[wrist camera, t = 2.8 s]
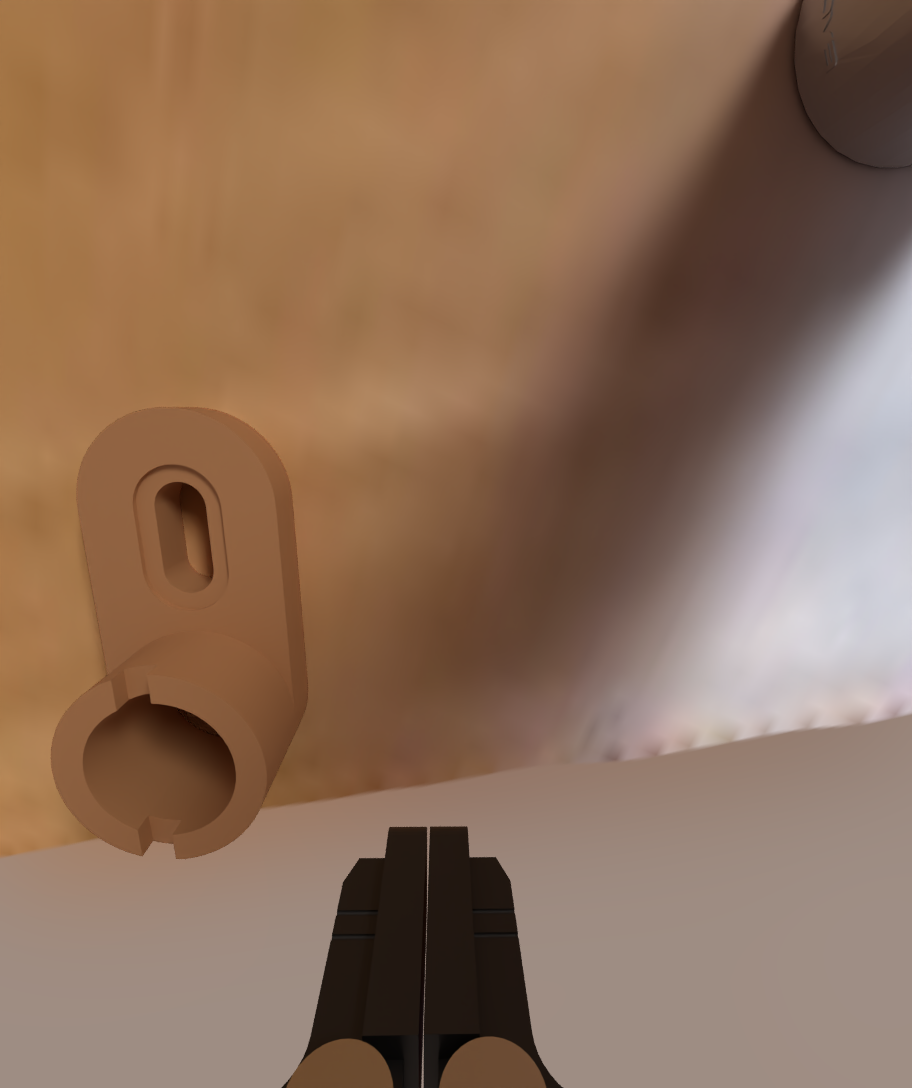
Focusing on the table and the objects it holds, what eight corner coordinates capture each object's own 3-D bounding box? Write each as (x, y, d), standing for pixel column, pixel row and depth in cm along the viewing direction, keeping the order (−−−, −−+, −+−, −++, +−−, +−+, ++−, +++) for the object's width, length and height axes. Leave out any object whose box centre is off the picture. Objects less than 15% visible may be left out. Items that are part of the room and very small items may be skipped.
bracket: (314, 753, 29) (275, 856, 22) (157, 756, 29) (71, 861, 22) (285, 406, 25) (227, 405, 18) (101, 408, 25) (-27, 408, 18)
